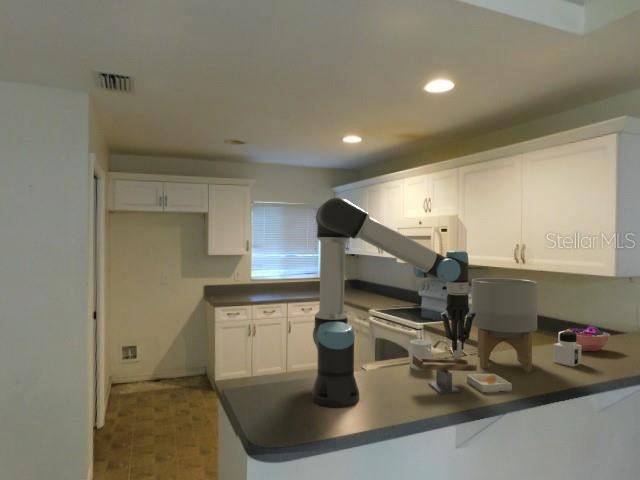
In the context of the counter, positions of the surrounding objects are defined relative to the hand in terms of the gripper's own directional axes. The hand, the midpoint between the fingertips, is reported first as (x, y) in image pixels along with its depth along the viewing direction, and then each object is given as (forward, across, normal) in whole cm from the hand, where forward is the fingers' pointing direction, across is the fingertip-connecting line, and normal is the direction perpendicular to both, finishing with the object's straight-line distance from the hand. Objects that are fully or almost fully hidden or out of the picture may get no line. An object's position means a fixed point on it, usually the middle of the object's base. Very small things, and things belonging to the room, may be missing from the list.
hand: (457, 358), depth 152 cm
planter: (+9, +29, +18) cm, 35 cm away
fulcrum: (+8, -8, -7) cm, 13 cm away
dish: (+8, +8, -7) cm, 13 cm away
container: (+9, +56, +15) cm, 59 cm away
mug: (+8, -7, +15) cm, 19 cm away
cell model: (+9, +80, +33) cm, 87 cm away
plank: (+1, -8, -4) cm, 9 cm away
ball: (+6, +9, -7) cm, 13 cm away
